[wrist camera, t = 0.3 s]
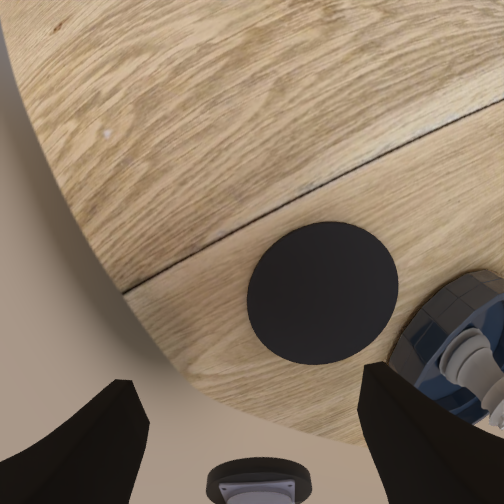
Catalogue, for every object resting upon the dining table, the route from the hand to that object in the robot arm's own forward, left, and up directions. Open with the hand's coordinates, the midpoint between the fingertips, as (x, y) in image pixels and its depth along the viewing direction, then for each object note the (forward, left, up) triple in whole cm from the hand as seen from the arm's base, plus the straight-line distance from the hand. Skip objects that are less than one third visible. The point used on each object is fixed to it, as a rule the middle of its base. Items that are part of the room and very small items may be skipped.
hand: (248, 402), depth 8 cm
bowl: (-7, -15, -9) cm, 19 cm away
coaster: (-1, -4, -9) cm, 10 cm away
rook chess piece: (-7, -15, -8) cm, 19 cm away
